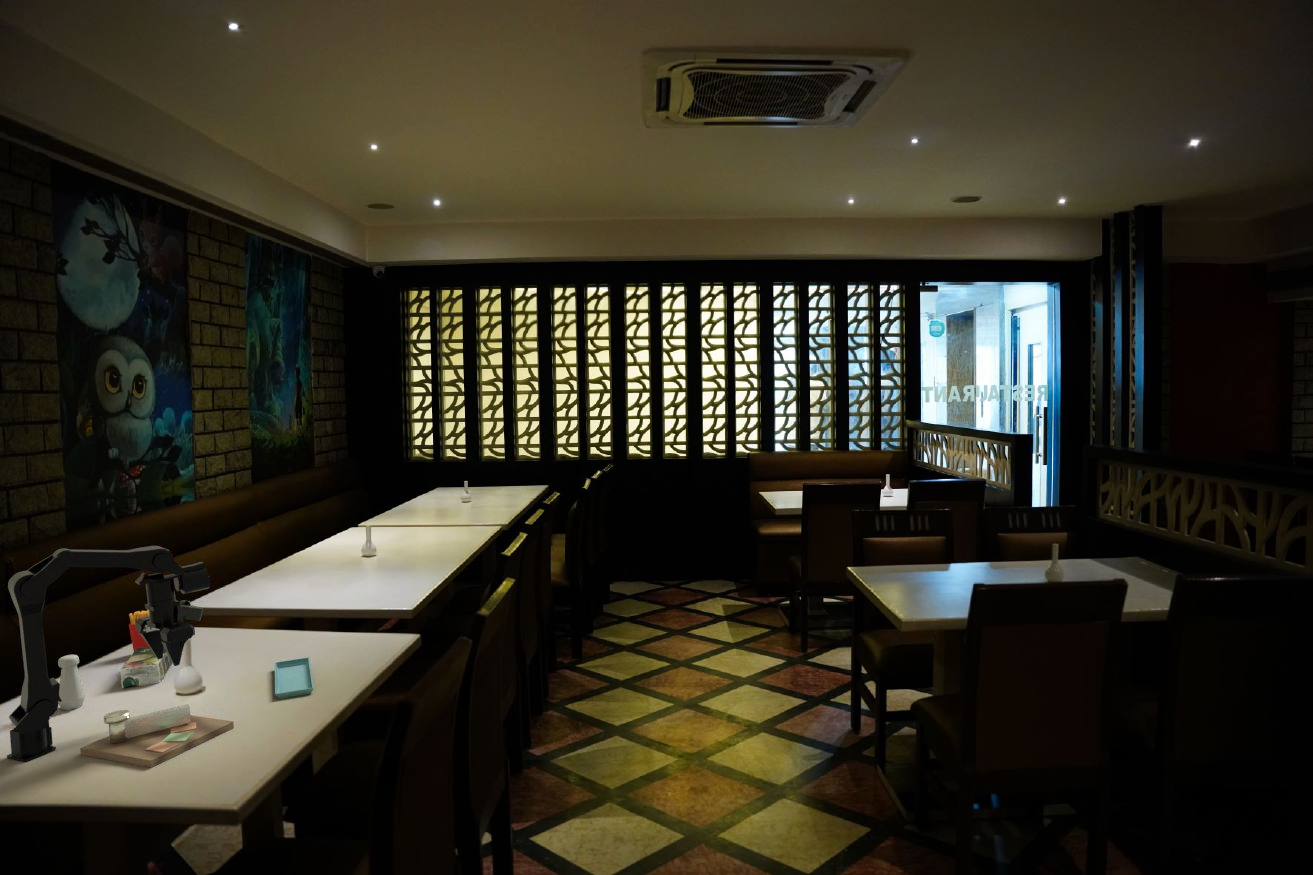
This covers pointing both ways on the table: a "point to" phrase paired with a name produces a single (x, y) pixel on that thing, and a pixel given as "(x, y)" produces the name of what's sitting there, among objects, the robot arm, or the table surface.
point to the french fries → (136, 637)
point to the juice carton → (144, 668)
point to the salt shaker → (70, 683)
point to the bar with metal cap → (144, 722)
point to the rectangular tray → (293, 678)
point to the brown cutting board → (158, 742)
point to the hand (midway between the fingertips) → (168, 661)
